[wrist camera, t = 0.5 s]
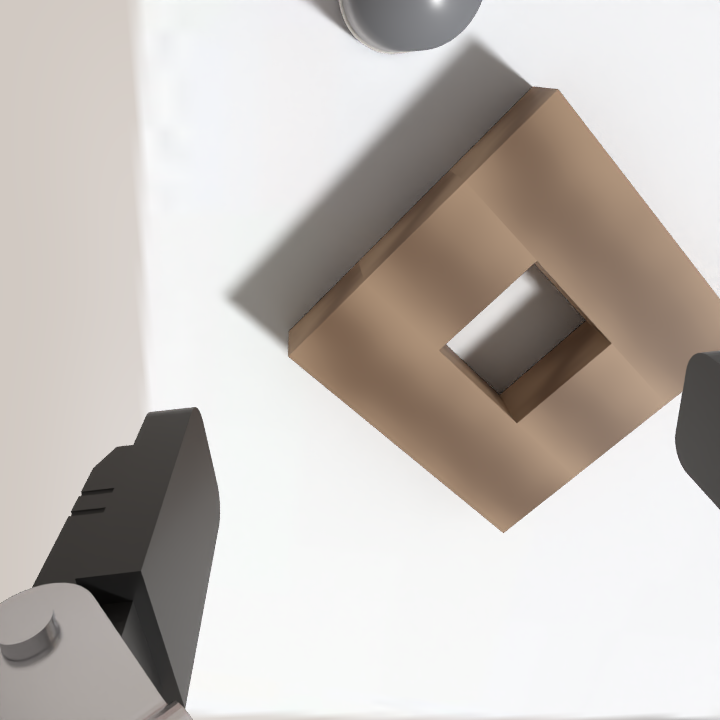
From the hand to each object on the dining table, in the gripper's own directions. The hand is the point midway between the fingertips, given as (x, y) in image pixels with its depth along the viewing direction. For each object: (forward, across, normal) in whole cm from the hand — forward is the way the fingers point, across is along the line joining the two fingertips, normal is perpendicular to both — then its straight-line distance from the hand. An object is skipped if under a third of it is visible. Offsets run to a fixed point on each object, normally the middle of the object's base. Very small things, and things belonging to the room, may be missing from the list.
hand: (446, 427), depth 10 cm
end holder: (+21, -7, +8) cm, 23 cm away
